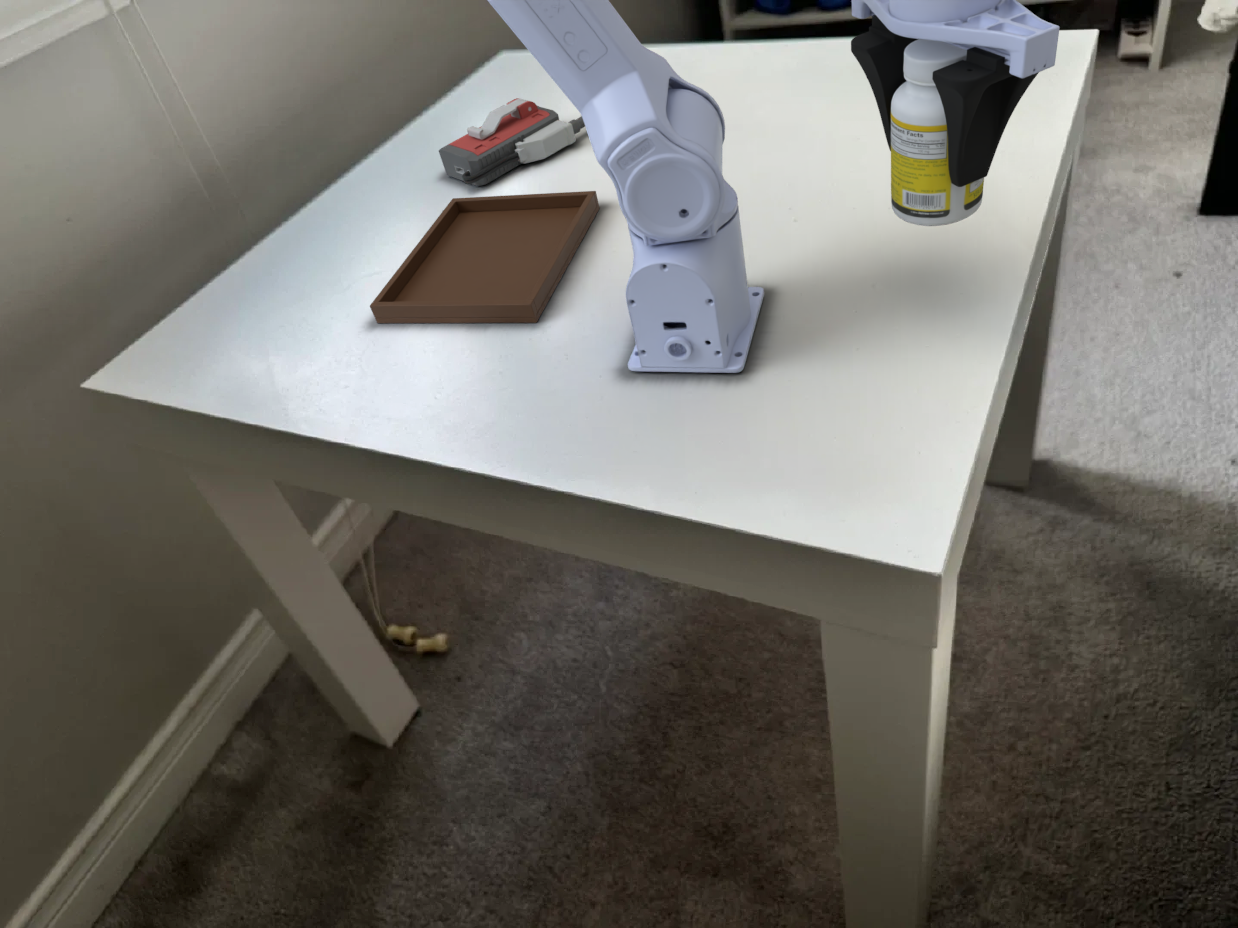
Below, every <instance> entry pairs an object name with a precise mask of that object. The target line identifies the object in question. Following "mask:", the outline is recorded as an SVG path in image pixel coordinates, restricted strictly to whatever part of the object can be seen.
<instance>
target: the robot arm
mask: <svg viewBox="0 0 1238 928" xmlns="http://www.w3.org/2000/svg"><path fill="white" fill-rule="evenodd" d="M486 1H487V2H488V3H489V4H490V6H491V7H492V8H493V9H494V11H495V12H496V13H497V15H499V17H500V18H501V19H502V20H503V22H505V24H506V25H507V26H508V27H509V28H510V30H511V31H512V32H513V33H514V35H515V37H517V38H518V40H519V41H520V42H521V43H522V44H523V45H524V47H525V48H526V49H527V51H528V52H529V53H530V54H531V55H532V57H533V58H534V59H535V61H537V63H538V64H539V65H540V66H541V67H542V68H543V70H544V71H545V72H546V73H547V75H548V76H549V77H550V78H551V80H552V81H553V82H554V83H555V85H556V86H557V87H558V88H559V89H560V90H561V92H562V93H563V94H564V95H565V96H566V98H567V99H568V100H569V101H570V103H571V104H572V105H573V106H574V107H575V109H576V110H577V111H578V112H579V114H580V117H581V116H582V118H583V121H584V124H585V127H584V128H585V130H586V133H587V136H588V139H589V143H590V146H591V148H592V152H593V154H594V156H595V159H596V161H597V163H598V164H599V166H600V167H601V168H602V169H603V170H604V171H605V173H606V174H607V175H608V177H609V178H610V180H611V181H612V184H613V186H614V188H615V191H616V197H617V200H618V205H619V208H620V210H621V213H622V215H623V216H624V218H625V220H626V223H627V229H628V233H629V238H630V242H631V247H632V248H631V249H632V252H633V258H632V268H631V270H630V274H629V277H628V280H627V283H626V287H625V301H626V307H627V310H628V315H629V319H630V324H631V328H632V332H633V333H632V334H633V338H634V341H635V345H634V347H633V350H632V353H631V355H630V356H629V359H628V362H627V367H628V368H627V369H628V370H629V371H631V372H653V373H654V372H656V373H658V372H661V373H715V374H716V373H720V374H721V373H722V374H723V373H724V374H738V373H740V372H741V373H742V371H743V370H744V368H745V365H746V361H747V358H748V354H749V350H750V347H751V343H752V340H753V336H754V331H755V330H756V325H757V322H758V319H759V315H760V311H761V308H762V303H763V301H764V297H765V289H764V287H761V286H749V285H748V277H747V269H746V259H745V252H744V244H743V235H742V225H741V217H740V209H739V207H740V206H739V199H738V194H737V192H736V190H735V189H734V188H733V187H732V186H731V185H730V183H728V182H727V181H726V179H725V178H724V176H723V175H724V174H723V146H724V143H725V139H726V138H725V137H726V136H725V135H726V122H725V118H724V114H723V111H722V110H721V107H720V105H719V103H718V102H717V101H716V100H715V98H714V96H713V97H712V95H711V94H710V93H709V92H707V91H706V90H704V89H703V88H702V87H699V86H697V85H695V84H693V83H691V82H688V81H687V80H685V79H684V78H683V77H681V76H680V75H679V74H678V73H677V72H676V71H675V70H674V69H673V67H672V66H671V65H670V63H669V62H668V61H667V59H666V58H665V57H663V56H662V55H661V54H658V53H657V52H655V51H653V50H651V49H649V48H647V47H646V46H644V45H643V44H642V43H641V41H640V40H639V39H638V37H636V35H635V34H634V32H633V30H631V28H630V26H628V24H627V23H626V22H625V20H624V19H623V18H622V16H621V15H620V14H619V12H618V11H617V9H616V8H615V6H614V5H613V4H612V3H611V2H610V0H486ZM851 16H852V17H854V18H857V19H861V20H865V19H867V18H868V19H869V18H870V17H871V24H872V25H870V26H869V27H868V31H866V32H864V33H860V34H859V35H856V36H854V37H853V38H852V39H851V40H850V51H851V53H852V55H853V56H854V58H855V59H856V61H857V63H858V64H859V66H860V67H861V69H862V71H863V73H864V75H865V77H866V79H867V81H868V83H869V85H870V88H871V90H872V93H873V96H874V98H875V102H876V105H877V108H878V112H879V116H880V120H881V124H882V128H883V131H884V135H885V136H884V137H885V139H886V143H887V146H888V149H889V152H891V101H892V98H893V95H894V93H895V92H896V90H897V89H898V88H899V87H900V86H901V85H902V84H903V83H905V82H906V81H907V80H906V79H905V78H904V71H903V66H904V51H905V48H906V47H907V46H908V45H909V44H910V43H912V42H914V41H916V40H918V39H923V40H931V41H940V42H945V43H948V44H950V45H953V46H956V47H959V48H962V49H964V50H967V58H966V61H965V60H961V61H959V62H956V63H953V64H951V65H948V66H946V67H943V68H941V69H938V70H936V71H933V77H932V79H933V81H934V83H935V85H936V88H937V90H938V93H939V95H940V98H941V101H942V105H943V108H944V113H945V118H946V124H947V131H948V167H949V175H950V179H951V183H952V184H954V185H955V186H957V187H962V186H965V185H967V184H970V183H972V182H974V181H977V180H979V179H981V178H984V179H985V178H986V177H988V175H989V171H990V168H991V166H992V162H993V160H994V158H995V154H996V152H997V149H998V147H999V145H1000V141H1001V139H1002V137H1003V135H1004V132H1005V130H1006V127H1007V125H1008V123H1009V121H1010V118H1011V117H1012V115H1013V113H1014V111H1015V109H1016V108H1017V106H1018V104H1019V102H1020V100H1021V99H1022V97H1023V96H1024V95H1025V93H1026V91H1027V89H1028V88H1029V87H1030V86H1031V84H1032V83H1033V81H1034V80H1035V79H1036V77H1037V76H1038V75H1039V73H1041V72H1043V71H1045V70H1047V69H1050V68H1052V67H1054V66H1055V65H1056V58H1057V51H1058V44H1059V43H1058V42H1059V37H1060V36H1059V35H1060V28H1061V27H1060V26H1059V25H1057V24H1054V23H1052V22H1048V21H1046V20H1044V19H1043V18H1040V17H1039V16H1037V15H1036V14H1034V13H1033V12H1032V11H1031V10H1029V9H1028V8H1027V7H1025V6H1024V5H1023V4H1022V3H1020V2H1019V1H1018V0H851Z"/></svg>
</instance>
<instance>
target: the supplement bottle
mask: <svg viewBox="0 0 1238 928" xmlns="http://www.w3.org/2000/svg"><path fill="white" fill-rule="evenodd" d="M966 58H967V50H964V49H962V48H959V47H956V46H953V45H950V44H948V43H945V42H940V41H931V40H923V39H918V40H916V41H914V42H912V43H910V44H909V45H908V46H907V47H906V48H905V51H904V66H903V71H904V78H905V79H906V80H907V81H906V82H905V83H903V84H902V85H901V86H900V87H899V88H898V89H897V90H896V92H895V93H894V95H893V98H892V101H891V151H890V201H891V203H890V204H891V209H892V211H893V213H894V215H896V217H898V218H899V219H900V220H902V221H903V222H905V223H908V224H912V225H915V226H922V227H939V226H947V225H951V224H954V223H958V222H962V221H963V220H965V219H968V218H969V217H971V216H972V215H973V214H975V213H976V212H977V211H978V210H979V209H980V207H981V205H982V201H983V196H984V184H985V183H984V182H985V177H984V178H981V179H979V180H977V181H974V182H972V183H970V184H967V185H965V186H962V187H957V186H955V185H954V184H952V183H951V179H950V175H949V167H948V131H947V124H946V118H945V113H944V108H943V105H942V101H941V98H940V95H939V93H938V90H937V88H936V85H935V83H934V81H933V79H932V77H933V71H936V70H938V69H941V68H943V67H946V66H948V65H951V64H953V63H956V62H959V61H961V60H965V61H966Z"/></svg>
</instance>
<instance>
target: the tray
mask: <svg viewBox="0 0 1238 928" xmlns="http://www.w3.org/2000/svg"><path fill="white" fill-rule="evenodd" d="M599 210H600V204H599V199H598V195H597V191H596V190H587V191H586V190H585V191H568V192H566V191H565V192H547V193H528V194H510V195H493V196H471V197H454V198H452V199H451V200H450V202H448V203H447V205H446V206H445V207H444V209H443V210H442V211H441V212H440V214H439V216H437V218H436V219H435V220H434V222H433V223H432V224H431V226H430V227H429V228H428V230H427V231H426V232H425V233H424V235H423V236H422V238H421V239H420V240H419V242H417V244H416V245H415V246H414V248H413V249H412V250H411V252H410V253H409V254H408V255H407V257H405V259H404V260H403V262H402V263H401V264H400V266H399V268H397V270H396V271H395V273H394V274H393V275H392V276H391V278H390V279H389V280H388V282H387V283H386V284H385V285H384V286H383V287H382V289H381V290H380V292H379V293H378V294H377V295H376V297H375V298H374V300H373V301H372V302H371V303H370V305H369V308H370V311H371V312H372V314H373V317H374V319H375V321H376V323H377V324H529V323H530V324H536V323H538V321H539V319H540V318H541V316H542V314H543V312H544V310H545V308H546V306H547V305H548V303H549V301H550V299H551V298H552V296H553V294H554V293H555V290H556V288H557V286H558V285H559V283H560V281H561V279H562V277H564V276H563V275H564V274H565V272H566V270H567V268H568V266H569V265H570V263H571V261H572V259H573V257H574V256H575V254H576V253H577V250H578V248H579V247H580V245H581V243H582V241H583V239H584V237H585V235H586V234H587V232H588V230H589V229H590V226H591V225H592V223H593V222H594V219H595V218H596V215H597V214H598V212H599Z"/></svg>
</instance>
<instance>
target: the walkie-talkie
mask: <svg viewBox="0 0 1238 928" xmlns="http://www.w3.org/2000/svg"><path fill="white" fill-rule="evenodd" d="M584 128H586V127H585V124H584V121H583V118H582V116H581V115H580V116H579V117H578V118H576V119H575V118H574V119H571V120H569V121H568V122H567V121H564V120H561V119H560V117H559V114H558V112H556V111H555V110H553V109H550V108H547V107H542V106H539V105H537V104H536V103H535V102H534V101H531V100H527V99H524V98H520V97H519V98H517V97H516V98H514V99H512V100H510V101H508V102H507V103H506V104H502V105H501V106H498V107H497V108H495V109H493V110H492V111H490V112H488V114H487V116H486V118H485V120H484V121H483V123H482V125H481V126H479V127H477V126H474V125H472V126H469V127H467V128H466V132H467V133H466V134H465V135H462V136H461V137H459V138H457V139H456V140H453V141H452V142H449V143H448V144H446V145H445V146H443V147H441V148H439V150H438V153H439V157H440V159H441V162H442V165H443V168H444V171H445V173H446V176H448V177H450V178H451V177H452V178H453V179H457V180H460V181H462V182H463V183H464V184H465V185H473V186H475V187H480V186H481V187H482V186H486V185H488V184H490V183H491V182H494V180H496V179H498V178H500V177H502V176H503V175H505V174H507V173H509V172H510V171H511V170H513V169H515V168H517V167H519V166H520V165H522V164H529V163H533V162H537V161H541V160H544V159H547V158H548V157H550V156H552V155H554V154H555V153H557V152H558V151H560V150H562V149H564V148H566V147H567V146H571V145H573V144H574V143H575V142H576V141H577V139H576V136H575V135H576V134H578V133H579V132H581V130H582V129H584Z"/></svg>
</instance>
